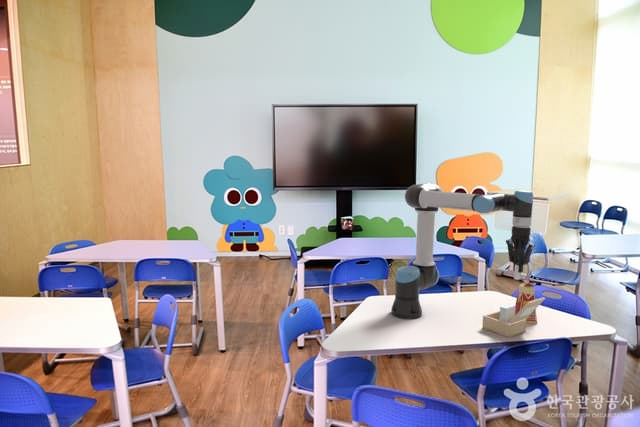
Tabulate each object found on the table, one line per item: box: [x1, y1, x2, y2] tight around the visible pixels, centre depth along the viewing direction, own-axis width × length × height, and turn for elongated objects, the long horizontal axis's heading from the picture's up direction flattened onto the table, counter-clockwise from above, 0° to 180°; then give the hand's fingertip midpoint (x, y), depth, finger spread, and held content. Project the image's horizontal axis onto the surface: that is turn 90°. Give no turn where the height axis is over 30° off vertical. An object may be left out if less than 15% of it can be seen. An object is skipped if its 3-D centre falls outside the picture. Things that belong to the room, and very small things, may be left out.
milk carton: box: [514, 280, 538, 324], centre depth 235 cm, size 9×9×20 cm
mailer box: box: [481, 303, 527, 339], centre depth 221 cm, size 14×12×12 cm
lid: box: [509, 296, 546, 324], centre depth 211 cm, size 14×12×1 cm
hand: (517, 278), depth 214 cm, fingers closed
